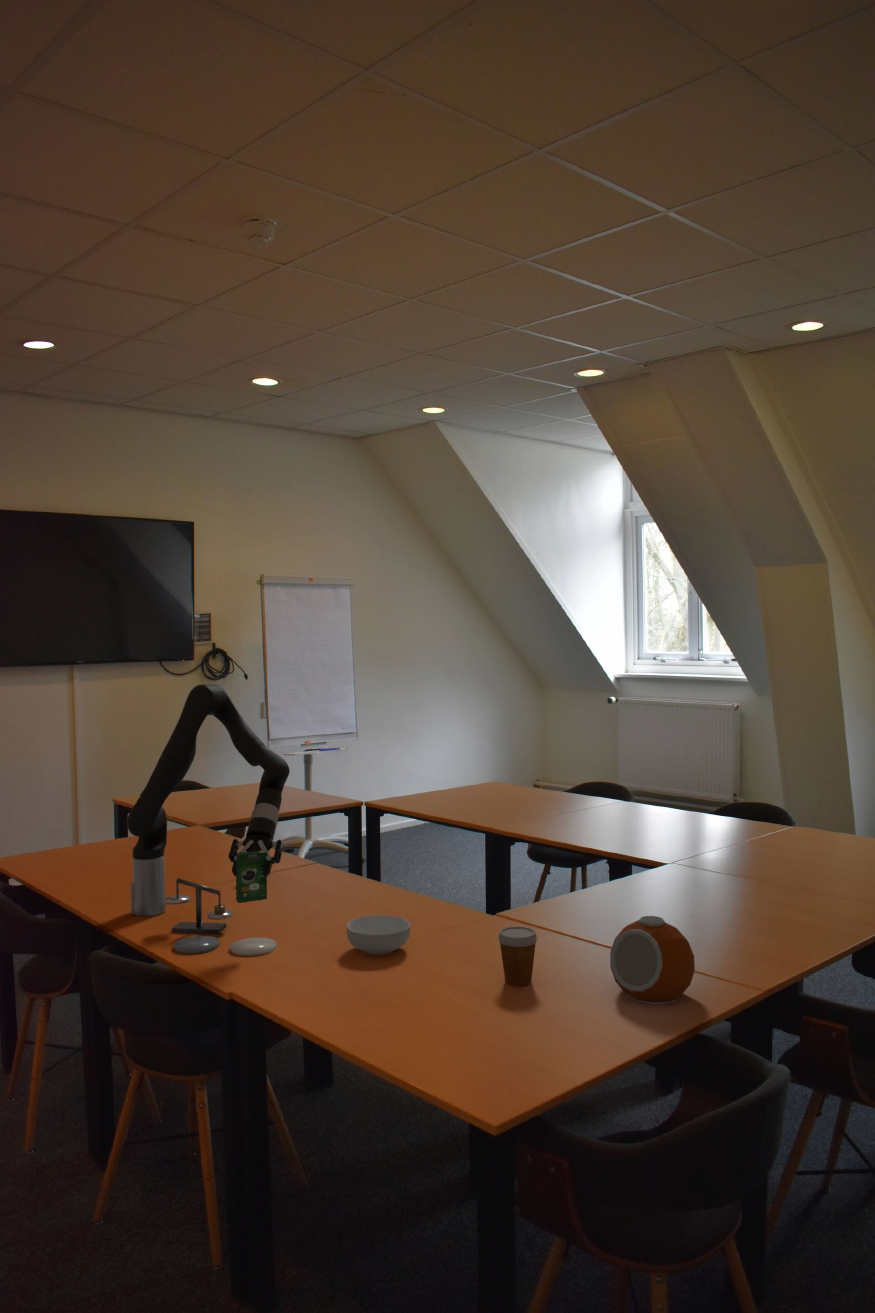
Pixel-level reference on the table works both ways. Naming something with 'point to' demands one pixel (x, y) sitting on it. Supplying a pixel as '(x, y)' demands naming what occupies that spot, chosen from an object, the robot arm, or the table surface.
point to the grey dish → (196, 945)
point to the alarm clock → (652, 961)
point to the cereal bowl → (378, 933)
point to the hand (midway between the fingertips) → (250, 875)
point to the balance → (199, 911)
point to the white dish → (253, 946)
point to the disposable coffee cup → (517, 954)
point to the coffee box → (250, 876)
